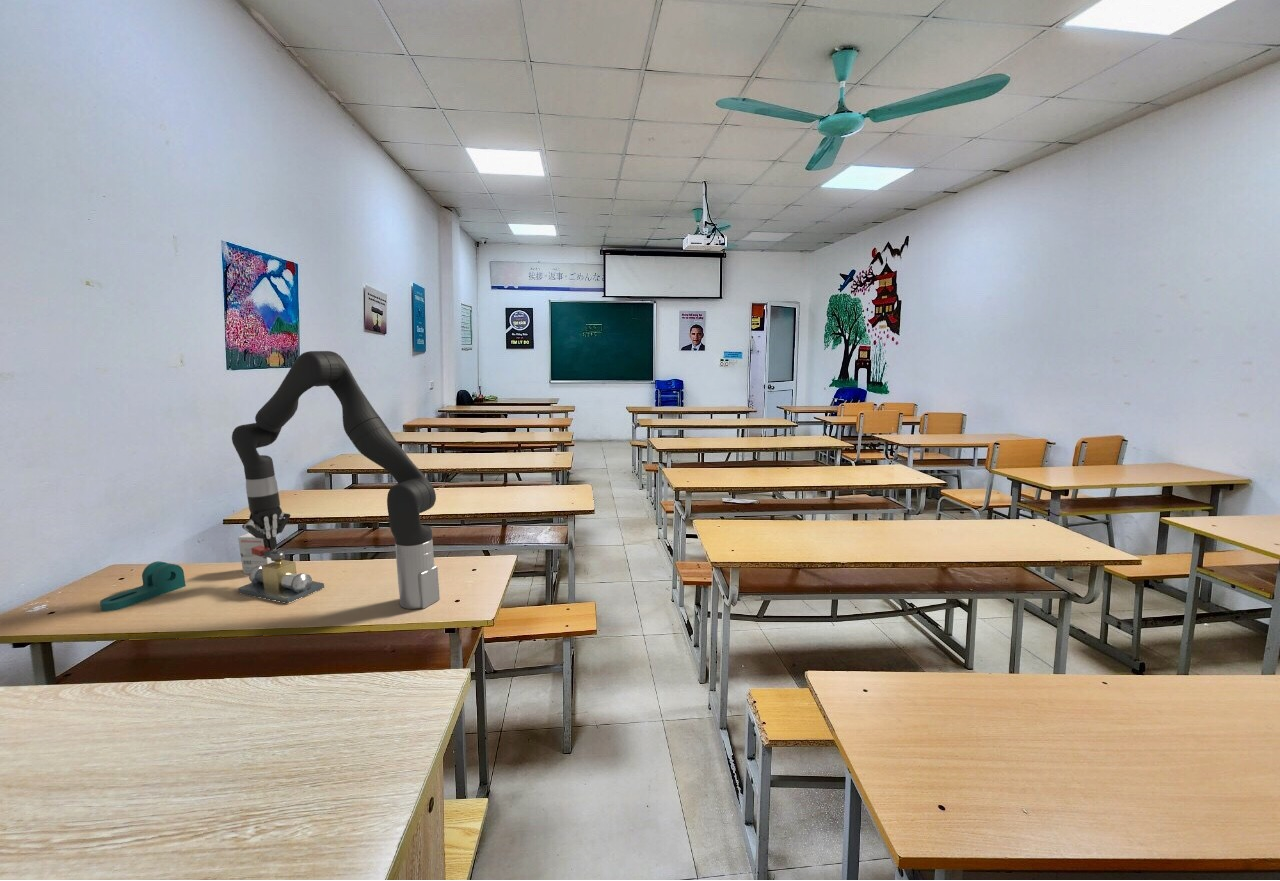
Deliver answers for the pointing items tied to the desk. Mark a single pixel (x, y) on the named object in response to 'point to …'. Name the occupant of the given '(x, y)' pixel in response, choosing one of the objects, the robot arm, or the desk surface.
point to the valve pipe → (279, 582)
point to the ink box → (246, 553)
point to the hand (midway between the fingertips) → (271, 549)
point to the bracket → (148, 586)
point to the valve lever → (268, 553)
